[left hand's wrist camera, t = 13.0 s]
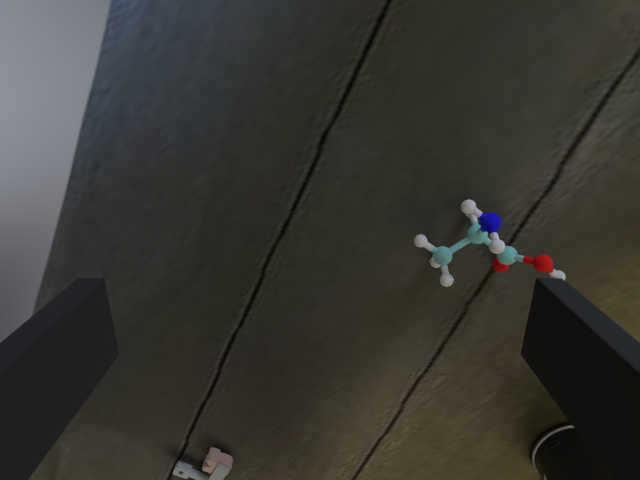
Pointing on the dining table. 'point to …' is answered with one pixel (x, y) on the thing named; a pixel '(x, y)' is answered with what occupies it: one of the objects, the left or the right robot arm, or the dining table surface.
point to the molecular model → (479, 235)
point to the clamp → (207, 467)
